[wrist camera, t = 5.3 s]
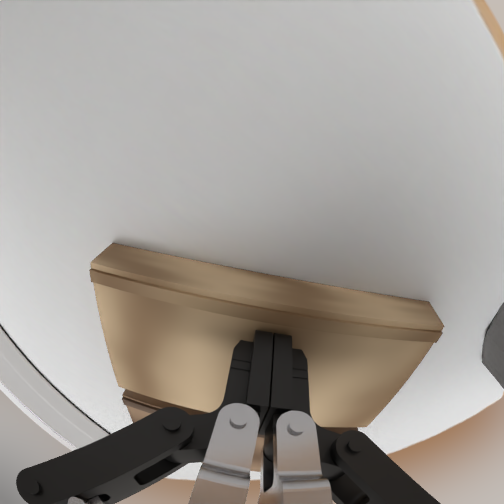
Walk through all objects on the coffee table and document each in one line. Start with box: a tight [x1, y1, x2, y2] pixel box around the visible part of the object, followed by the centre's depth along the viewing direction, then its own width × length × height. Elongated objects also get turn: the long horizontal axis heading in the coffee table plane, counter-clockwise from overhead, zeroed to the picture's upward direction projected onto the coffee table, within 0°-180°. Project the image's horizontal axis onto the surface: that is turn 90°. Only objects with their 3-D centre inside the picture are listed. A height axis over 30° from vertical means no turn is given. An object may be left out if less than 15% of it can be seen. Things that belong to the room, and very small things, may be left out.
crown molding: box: [0, 327, 110, 449], centre depth 20 cm, size 31×12×4 cm, turn 28°
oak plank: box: [90, 243, 444, 427], centre depth 13 cm, size 16×9×2 cm, turn 81°
